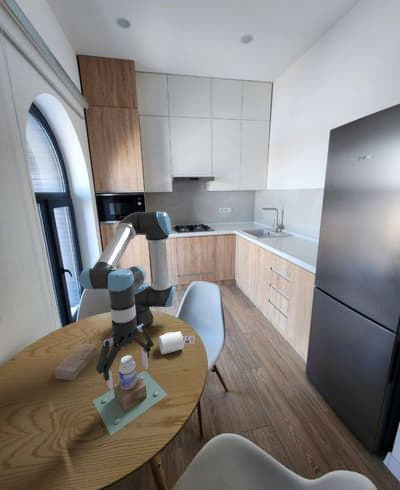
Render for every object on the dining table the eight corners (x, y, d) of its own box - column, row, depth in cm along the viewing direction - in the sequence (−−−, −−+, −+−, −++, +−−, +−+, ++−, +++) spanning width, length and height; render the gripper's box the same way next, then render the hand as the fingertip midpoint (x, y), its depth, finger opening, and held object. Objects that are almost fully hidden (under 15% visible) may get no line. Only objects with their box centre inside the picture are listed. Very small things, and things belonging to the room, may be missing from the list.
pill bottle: (120, 380, 76) (118, 355, 75) (136, 376, 78) (134, 352, 77) (120, 392, 71) (118, 366, 70) (137, 387, 73) (135, 362, 72)
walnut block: (135, 384, 81) (134, 372, 80) (146, 397, 75) (145, 385, 74) (114, 397, 75) (113, 385, 74) (124, 413, 70) (123, 399, 69)
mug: (184, 352, 100) (183, 337, 99) (162, 358, 96) (161, 342, 95) (177, 338, 111) (176, 324, 110) (157, 343, 107) (156, 328, 106)
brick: (73, 381, 85) (72, 370, 84) (54, 379, 86) (52, 368, 85) (98, 353, 101) (97, 344, 100) (81, 352, 102) (80, 343, 101)
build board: (144, 373, 88) (144, 369, 88) (167, 397, 76) (167, 393, 76) (92, 404, 74) (92, 400, 74) (111, 439, 63) (110, 434, 63)
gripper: (150, 302, 81) (153, 354, 85) (79, 327, 64) (87, 390, 68) (161, 309, 75) (164, 364, 79) (87, 338, 59) (95, 405, 63)
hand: (128, 376), depth 74 cm, fingers open, 12 cm apart
